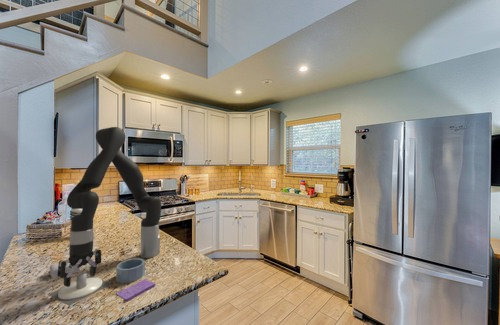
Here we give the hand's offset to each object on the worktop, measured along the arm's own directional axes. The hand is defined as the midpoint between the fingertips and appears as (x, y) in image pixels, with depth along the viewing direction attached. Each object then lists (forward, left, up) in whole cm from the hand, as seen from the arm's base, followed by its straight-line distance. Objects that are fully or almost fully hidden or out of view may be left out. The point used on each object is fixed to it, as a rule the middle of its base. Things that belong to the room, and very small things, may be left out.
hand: (80, 280), depth 84 cm
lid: (0, 0, -3) cm, 3 cm away
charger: (-6, -25, -5) cm, 26 cm away
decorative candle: (-35, -73, -5) cm, 81 cm away
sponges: (-10, +20, -5) cm, 23 cm away
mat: (0, 0, -4) cm, 4 cm away
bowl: (-15, +9, -4) cm, 18 cm away
